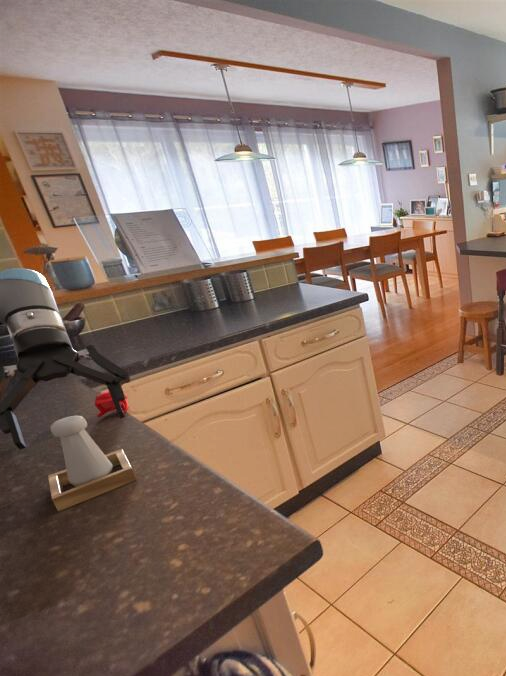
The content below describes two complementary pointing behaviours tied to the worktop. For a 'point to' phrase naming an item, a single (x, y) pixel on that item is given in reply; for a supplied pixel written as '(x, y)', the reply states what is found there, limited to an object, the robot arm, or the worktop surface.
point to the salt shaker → (80, 451)
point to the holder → (90, 483)
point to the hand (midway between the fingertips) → (73, 429)
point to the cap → (108, 403)
